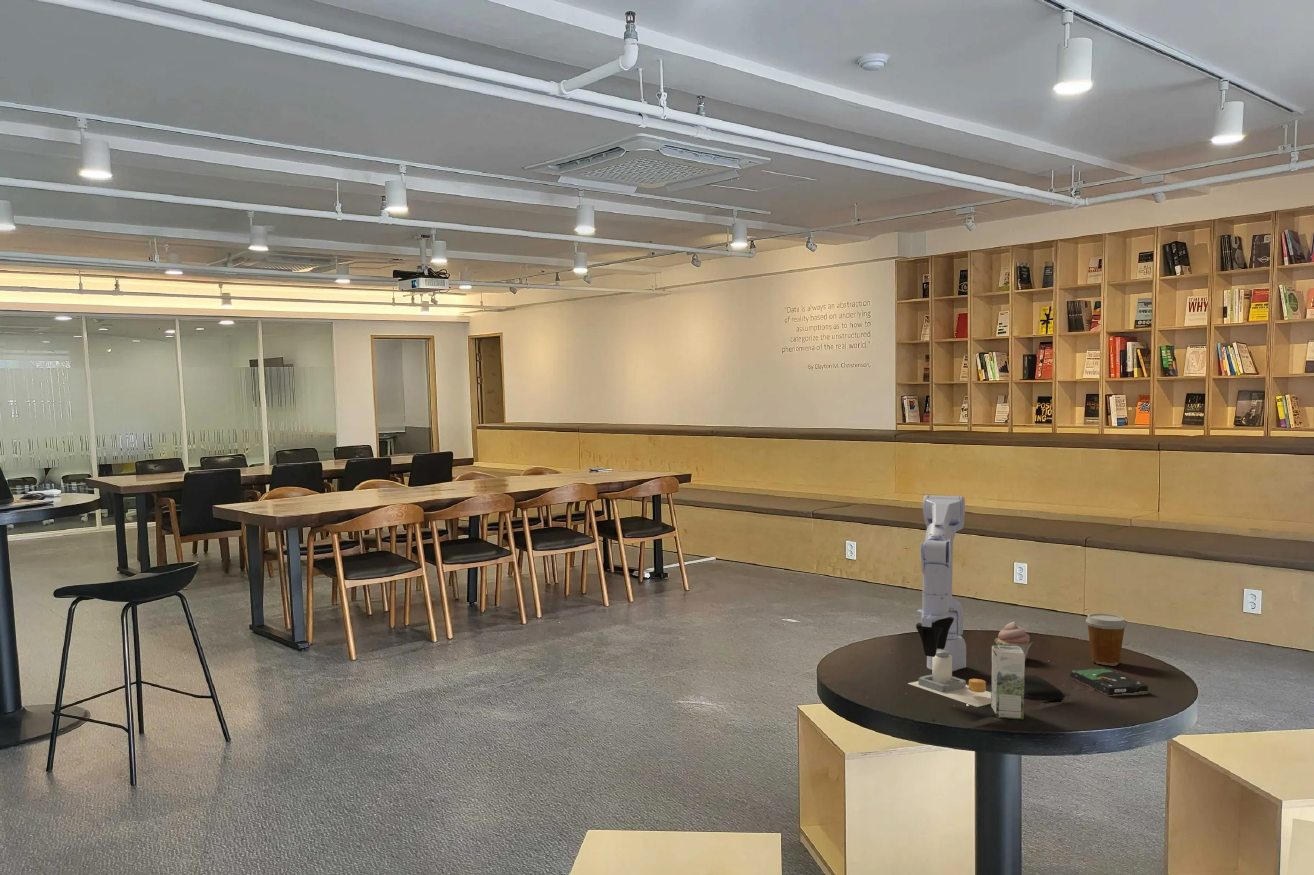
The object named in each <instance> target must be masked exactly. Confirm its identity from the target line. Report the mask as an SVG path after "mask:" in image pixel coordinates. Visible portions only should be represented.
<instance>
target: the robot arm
mask: <svg viewBox="0 0 1314 875" xmlns="http://www.w3.org/2000/svg"><path fill="white" fill-rule="evenodd" d="M922 501H923V502H922V516H923V518H924V524H925V527H926V531H925V532H926V533H925V536H924V541H922V542H921V543H920V550H919V552H920V553H919V554H920V565H921V573H922V594H921V595H922V598H921V600H922V601H921V602H922V604H921V605H922V608H921V609H917V610H916V614H917V615H921V620H920V622H917V623H916V625H915V628H916V630H917V632H918V634H919V636H920V639H921V644H922V647H923V653H924V655H925V656H926V668H927V669H928V670H932V657H935V655H936V651H937V650H945V651H948V652H949V655H951V656H952V672H955V671H957V670H960V669H965V668H967V643H966V641H965V639H964V638H963V636H962V635H964V634H963V633H964V611H963V610H964V607H963V605H962V603H960V602H959V601H958V600H957V599H956V598H954V597H953V595H952V594H953V566H954V564H953V562H954V561H953V560H954V559H953V558H954V539H955V536H956V533H957V532H958V531H960V530H963V529H964V525H965V514H966V500H965V497H964V496H963V495H938V494H937V495H936V494H934V495H932V494H930V495H929V494H925V495H924V497H923V500H922ZM950 609H951V610H950Z"/></svg>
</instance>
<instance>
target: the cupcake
mask: <svg viewBox="0 0 1314 875" xmlns="http://www.w3.org/2000/svg"><path fill="white" fill-rule="evenodd" d="M994 642H995V644H996V646H1018V647H1020V648H1021V649H1022V651H1023V653H1024V654H1025V661H1026V660H1027V657H1028V653H1029V649H1030V647H1031V646H1032V644H1033V643H1034V642H1033V641H1030V634H1028V633H1026V630H1025V629H1024V628H1022V627H1021V626H1019V625H1018V624H1017V623H1016V621H1012V622H1009V623H1007V624H1006V625H1005V626H1004V627H1003V629H1000V631H999V632H998V637H996V638H995V639H994Z"/></svg>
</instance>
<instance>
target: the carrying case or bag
mask: <svg viewBox="0 0 1314 875" xmlns="http://www.w3.org/2000/svg"><path fill="white" fill-rule="evenodd" d="M1065 697H1066V696H1065V693H1063V691H1061V689H1059V688H1058V687H1057V686H1055V685H1053V684H1052V683H1050V682H1048V681H1046V680H1045V679H1044V678H1042V677H1040V676H1038V675H1036V674H1035V675H1034V674H1024V699H1027V700H1031V701H1033V700H1034V701H1035V700H1036V701H1037V700H1039V701H1040V700H1046V701H1043V702H1042V704H1052V703H1055V702H1059V703H1062V702H1063V700H1065ZM1055 704H1056V703H1055Z"/></svg>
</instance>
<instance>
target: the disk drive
mask: <svg viewBox="0 0 1314 875" xmlns="http://www.w3.org/2000/svg"><path fill="white" fill-rule="evenodd" d="M1069 676H1070V677H1072V678H1074V679H1077V680H1079V681H1080V682H1083V683H1085V684H1088V685H1090V686H1091V687H1093V688H1095V689H1097V690H1099V691H1102V692H1103V693H1106V694H1108V695H1113V694H1122V693H1134V692H1139V691H1148V692H1149V685H1148V684H1146V683H1144V682H1142V681H1139V680H1137V679H1135V678H1132V677H1130V676H1127V675H1125V674H1122V673H1120V672H1118V671H1115V670H1113V669H1111V668H1108V667H1102V668H1101V667H1099V668H1087V669H1076V670H1075V669H1072V670H1071V672H1069ZM1070 677H1069V678H1070Z"/></svg>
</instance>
